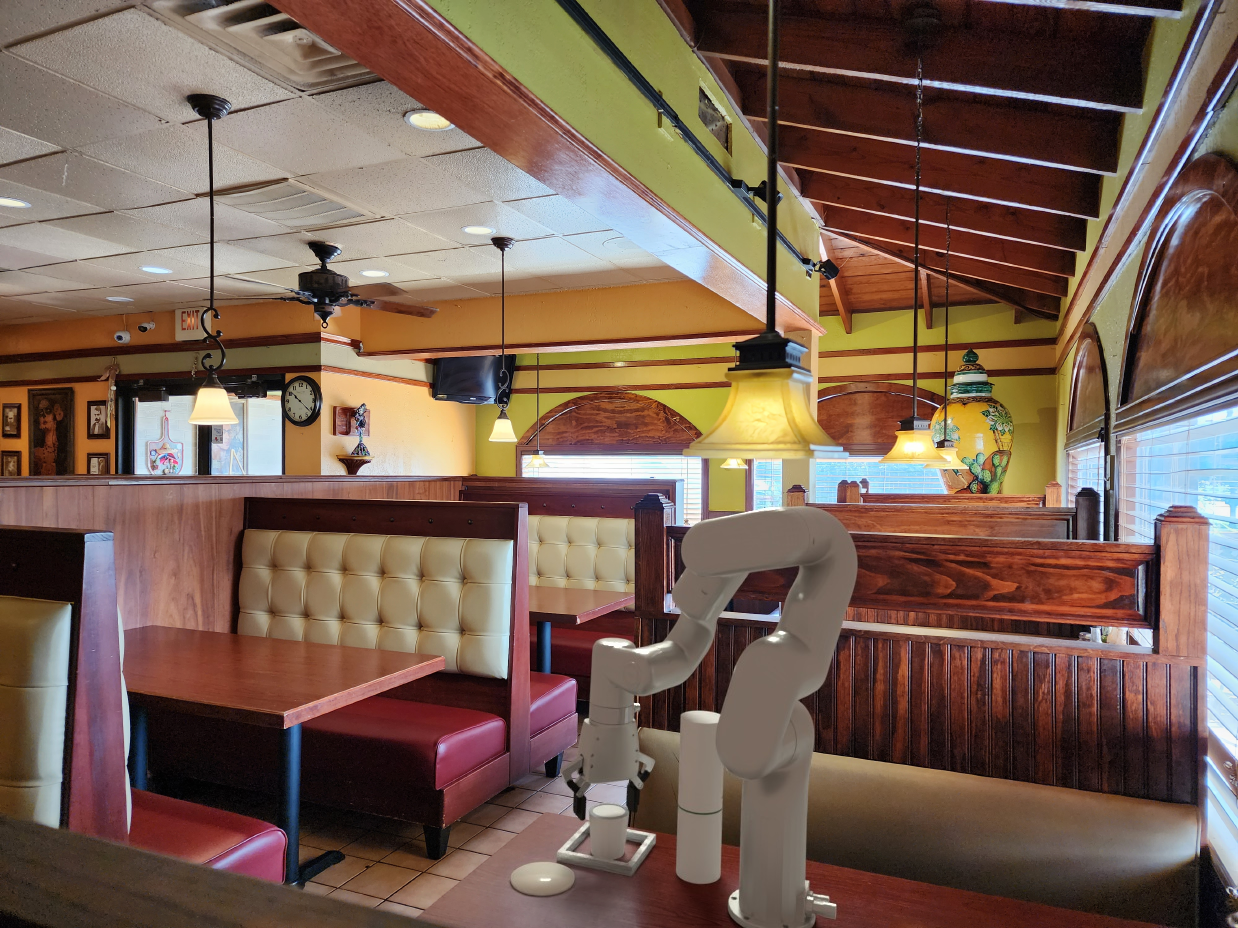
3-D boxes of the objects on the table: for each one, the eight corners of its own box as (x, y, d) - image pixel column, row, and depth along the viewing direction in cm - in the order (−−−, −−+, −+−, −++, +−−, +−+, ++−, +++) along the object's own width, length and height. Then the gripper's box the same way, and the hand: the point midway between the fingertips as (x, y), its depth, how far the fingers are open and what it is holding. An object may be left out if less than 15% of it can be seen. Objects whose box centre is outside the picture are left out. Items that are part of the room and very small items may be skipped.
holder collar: (655, 842, 140) (655, 834, 140) (631, 876, 128) (631, 866, 128) (586, 829, 144) (586, 821, 144) (556, 860, 132) (557, 851, 132)
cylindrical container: (721, 864, 133) (725, 712, 133) (719, 886, 126) (723, 725, 126) (678, 859, 134) (682, 709, 134) (673, 880, 127) (678, 721, 127)
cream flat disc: (584, 871, 129) (584, 868, 129) (558, 901, 119) (558, 898, 119) (528, 859, 132) (528, 857, 132) (499, 887, 123) (499, 885, 123)
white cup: (627, 862, 133) (629, 819, 133) (586, 860, 133) (587, 817, 133) (628, 843, 139) (629, 802, 140) (588, 841, 140) (589, 801, 140)
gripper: (646, 702, 144) (641, 798, 144) (555, 710, 136) (550, 811, 136) (666, 714, 137) (661, 815, 137) (572, 723, 130) (566, 830, 130)
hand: (606, 813), depth 137 cm, fingers open, 9 cm apart
